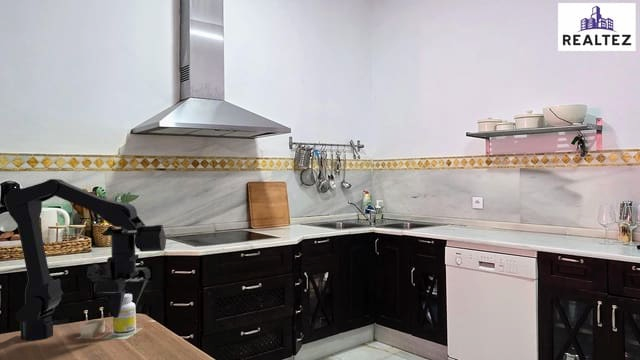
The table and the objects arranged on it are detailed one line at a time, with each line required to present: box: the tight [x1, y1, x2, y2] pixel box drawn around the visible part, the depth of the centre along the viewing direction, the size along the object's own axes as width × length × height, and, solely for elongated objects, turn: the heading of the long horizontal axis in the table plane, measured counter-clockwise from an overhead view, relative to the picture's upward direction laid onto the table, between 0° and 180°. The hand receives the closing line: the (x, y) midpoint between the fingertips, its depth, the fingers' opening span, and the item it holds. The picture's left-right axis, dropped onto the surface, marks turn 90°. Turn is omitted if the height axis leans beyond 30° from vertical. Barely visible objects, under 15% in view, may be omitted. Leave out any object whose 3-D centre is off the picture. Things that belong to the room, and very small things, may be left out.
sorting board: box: [75, 327, 143, 340], centre depth 124 cm, size 14×10×1 cm
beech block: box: [80, 319, 106, 338], centre depth 123 cm, size 6×3×3 cm, turn 176°
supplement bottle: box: [112, 293, 137, 336], centre depth 124 cm, size 5×5×10 cm
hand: (124, 312), depth 124 cm, fingers open, 9 cm apart
